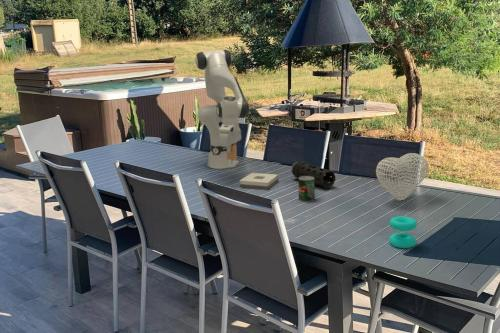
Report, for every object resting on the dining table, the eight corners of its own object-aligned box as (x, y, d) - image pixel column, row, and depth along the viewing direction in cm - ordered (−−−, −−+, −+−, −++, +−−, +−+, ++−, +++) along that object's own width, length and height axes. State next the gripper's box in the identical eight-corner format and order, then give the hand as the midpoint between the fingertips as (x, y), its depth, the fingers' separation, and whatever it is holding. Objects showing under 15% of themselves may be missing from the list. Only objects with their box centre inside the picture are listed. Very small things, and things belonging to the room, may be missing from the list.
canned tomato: (317, 198, 260) (317, 176, 258) (310, 202, 254) (310, 180, 251) (302, 196, 264) (302, 175, 262) (295, 200, 258) (295, 178, 255)
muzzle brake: (321, 191, 272) (321, 171, 270) (290, 179, 295) (289, 162, 293) (335, 188, 277) (336, 169, 274) (303, 177, 300) (303, 159, 298)
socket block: (251, 179, 298) (251, 172, 297) (278, 181, 292) (278, 174, 291) (240, 187, 283) (239, 180, 282) (267, 190, 277) (267, 182, 276)
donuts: (418, 216, 201) (416, 225, 192) (417, 240, 203) (415, 250, 194) (391, 214, 204) (388, 222, 195) (390, 238, 207) (387, 247, 198)
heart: (392, 210, 239) (394, 163, 233) (368, 202, 252) (369, 157, 246) (433, 199, 253) (436, 154, 248) (408, 191, 266) (410, 149, 261)
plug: (230, 157, 293) (229, 141, 290) (236, 158, 291) (236, 141, 289) (227, 159, 289) (226, 142, 287) (233, 159, 288) (233, 142, 285)
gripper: (233, 123, 296) (234, 147, 300) (217, 129, 278) (218, 155, 281) (243, 123, 294) (244, 147, 297) (228, 130, 275) (229, 155, 279)
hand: (231, 151), depth 289 cm, fingers closed on plug, 4 cm apart
